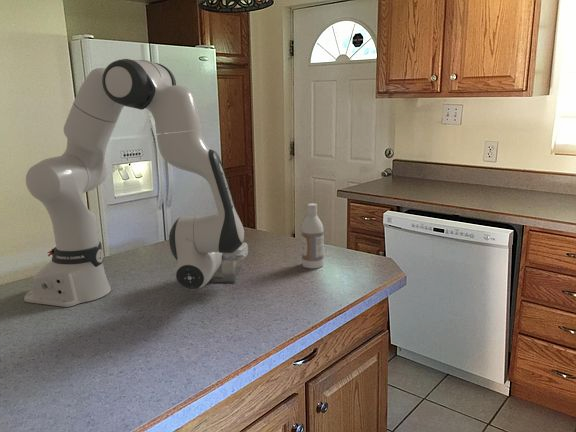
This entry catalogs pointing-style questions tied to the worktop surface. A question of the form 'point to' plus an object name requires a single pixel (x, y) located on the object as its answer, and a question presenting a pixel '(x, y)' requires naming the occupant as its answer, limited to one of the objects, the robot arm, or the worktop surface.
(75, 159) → the robot arm
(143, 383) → the worktop surface
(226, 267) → the octagonal cup holder
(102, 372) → the worktop surface
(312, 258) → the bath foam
